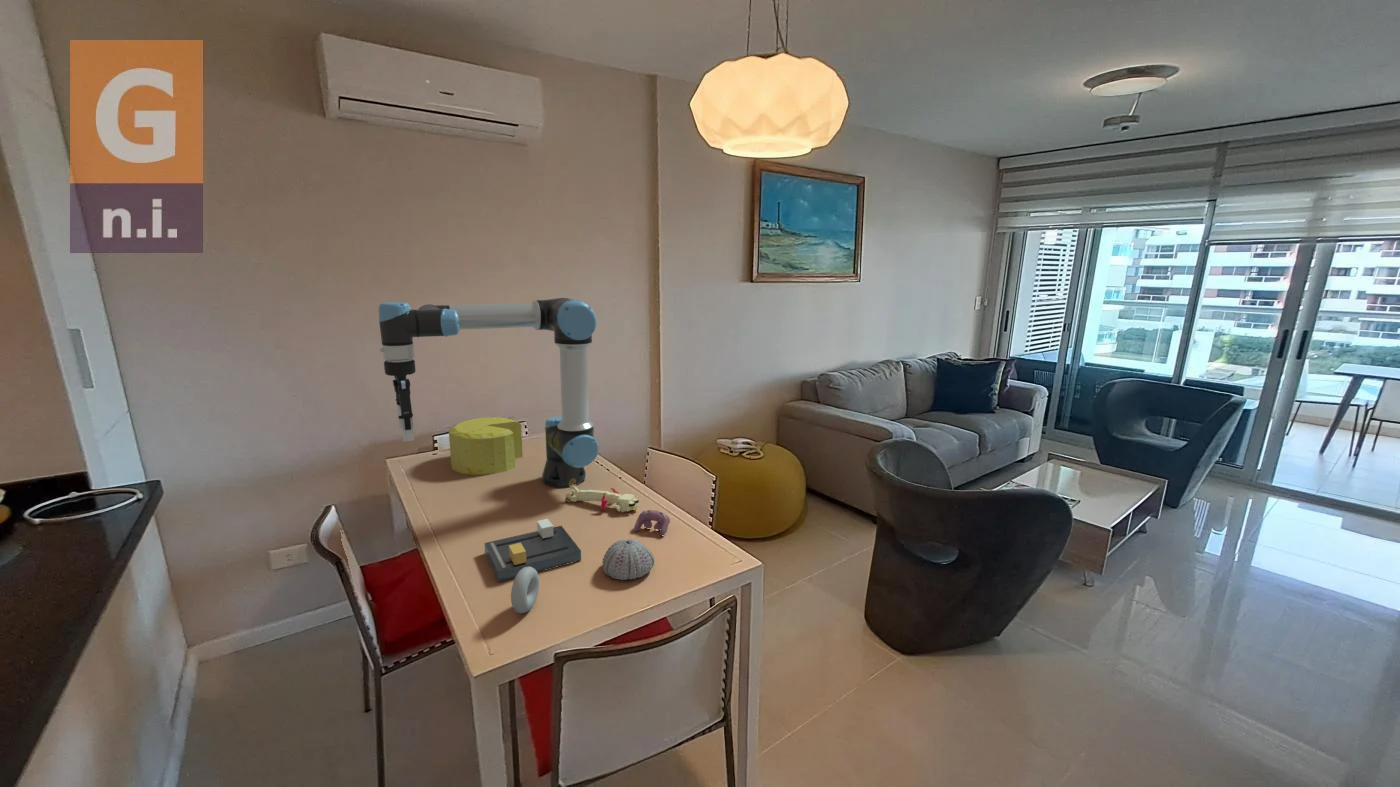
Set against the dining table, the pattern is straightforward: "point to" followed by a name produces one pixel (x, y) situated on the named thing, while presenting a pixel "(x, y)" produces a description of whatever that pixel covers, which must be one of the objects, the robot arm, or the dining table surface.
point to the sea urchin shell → (627, 560)
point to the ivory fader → (545, 528)
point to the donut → (525, 589)
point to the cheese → (485, 445)
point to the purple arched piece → (653, 516)
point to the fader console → (532, 552)
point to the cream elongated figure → (603, 497)
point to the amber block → (517, 553)
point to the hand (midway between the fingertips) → (406, 433)
